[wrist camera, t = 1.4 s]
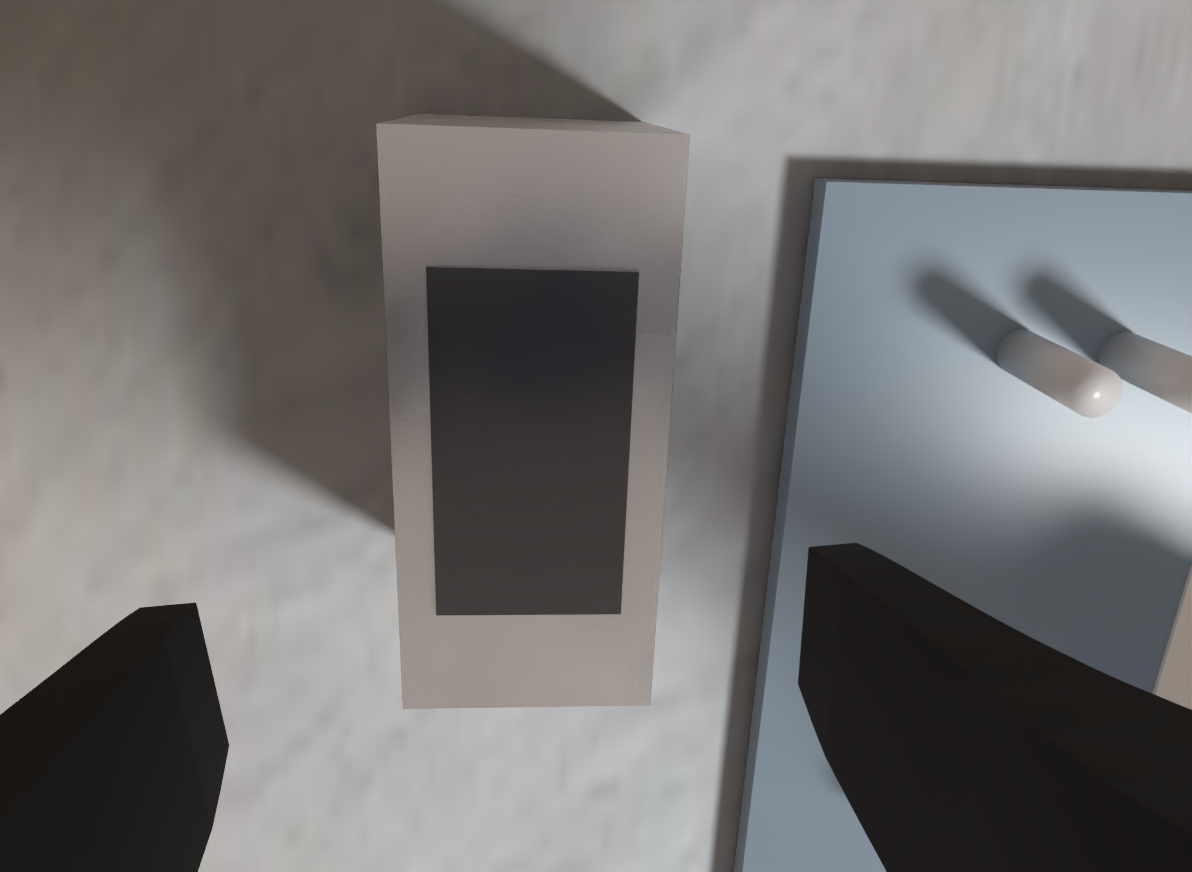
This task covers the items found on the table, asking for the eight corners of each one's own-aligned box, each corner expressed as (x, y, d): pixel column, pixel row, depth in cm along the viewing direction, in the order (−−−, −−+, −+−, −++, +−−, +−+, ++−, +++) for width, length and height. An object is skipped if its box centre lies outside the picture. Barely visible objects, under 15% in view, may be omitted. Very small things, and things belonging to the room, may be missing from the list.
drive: (641, 121, 19) (690, 135, 13) (619, 551, 22) (651, 708, 17) (421, 113, 18) (374, 123, 13) (434, 551, 22) (402, 712, 16)
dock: (1341, 195, 20) (1512, 217, 17) (1124, 879, 27) (1213, 997, 24) (815, 178, 19) (879, 197, 16) (731, 891, 26) (762, 1016, 23)
